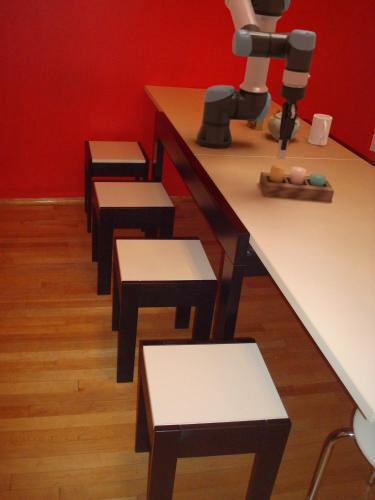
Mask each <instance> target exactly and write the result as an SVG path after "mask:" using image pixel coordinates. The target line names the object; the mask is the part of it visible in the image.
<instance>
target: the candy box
mask: <svg viewBox="0 0 375 500" xmlns="http://www.w3.org/2000/svg"><path fill="white" fill-rule="evenodd" d="M264 121H265V118H264V119H263V120H262V121H246V125H247V126H248V127H250V128H252V129H254V130H255V131H262V130H263V128H264Z"/></svg>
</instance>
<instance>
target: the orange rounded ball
mask: <svg viewBox="0 0 375 500" xmlns="http://www.w3.org/2000/svg"><path fill="white" fill-rule="evenodd" d="M285 172H286V167H285V166H283V165H279V164H273V165H271V167H270V171H269V173H270V176H269V182H274V183H283V179H284V174H286V173H285Z"/></svg>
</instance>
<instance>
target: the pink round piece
mask: <svg viewBox="0 0 375 500" xmlns="http://www.w3.org/2000/svg"><path fill="white" fill-rule="evenodd" d="M306 174H307V169H306V168H304V167H302V166H301V167H300V166H292V167H291V172H290V174H289V175H290V180H289V183H290V184H297V185H303V183H304V178H305V176H306Z"/></svg>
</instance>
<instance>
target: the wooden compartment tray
mask: <svg viewBox="0 0 375 500" xmlns="http://www.w3.org/2000/svg"><path fill="white" fill-rule="evenodd" d="M290 175H291V174H288V173H285V174H284V179H283V183H274V182H269V176H270V172H264V171H262V172H260V176H259V181H258V184H259V187H260V190H261V194H262V196H263V197H268V198H279V199H280V198H281V199H290V200H291V199H292V200H304V201H315V202H327V203H328V202H329V203H332V202H333V198H334V193H335V189H334V188H333V186H332V185H331V184H330V182H329V181H328V179H327V178H325V182H324V186H323V187H321V186H310V185H309V183H310V178H311V175H309V176H308V175H305V178H304V183H303V185H297V184H290V183H289V180H290Z"/></svg>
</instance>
